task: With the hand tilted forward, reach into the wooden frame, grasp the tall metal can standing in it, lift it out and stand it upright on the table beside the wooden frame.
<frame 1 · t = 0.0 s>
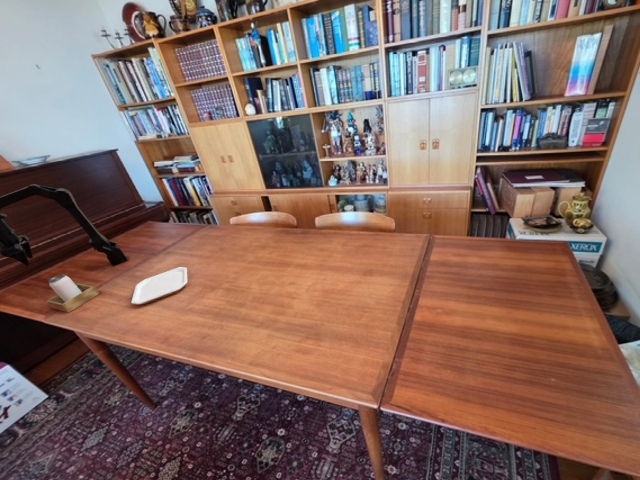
hand: (29, 261, 134), 15 cm above the table, tool pointing down, fingers open, 9 cm apart
can: (77, 301, 127), resting in wooden frame
plate: (163, 288, 124), on the table
wooden frame: (76, 300, 127), on the table
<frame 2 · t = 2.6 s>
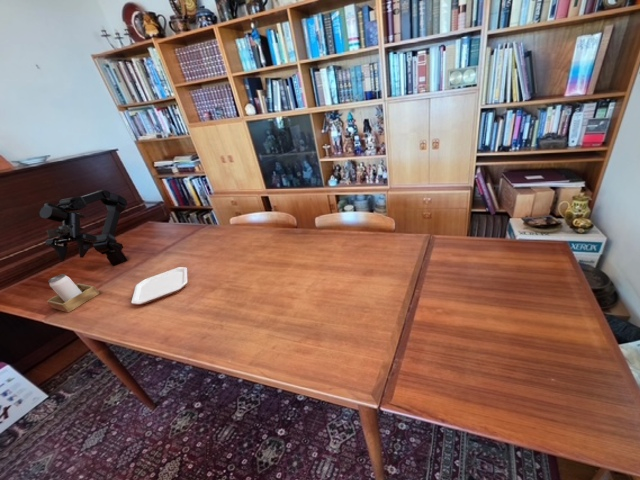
hand: (71, 259, 130), 14 cm above the table, tool tilted 40°, fingers open, 9 cm apart
nothing on the table moved.
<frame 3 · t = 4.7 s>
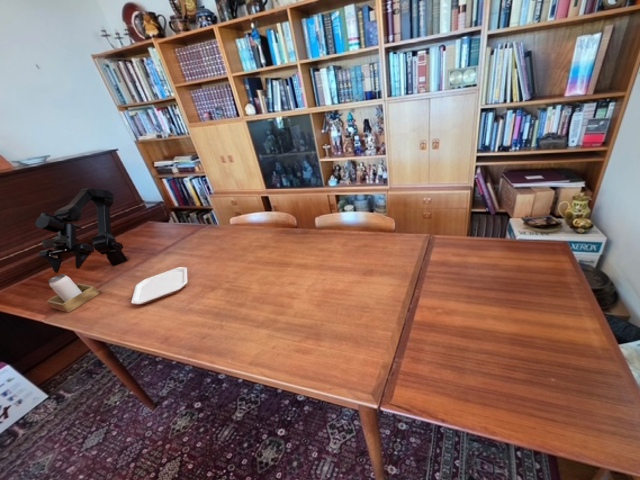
hand: (66, 270, 125), 12 cm above the table, tool tilted 45°, fingers open, 9 cm apart
nothing on the table moved.
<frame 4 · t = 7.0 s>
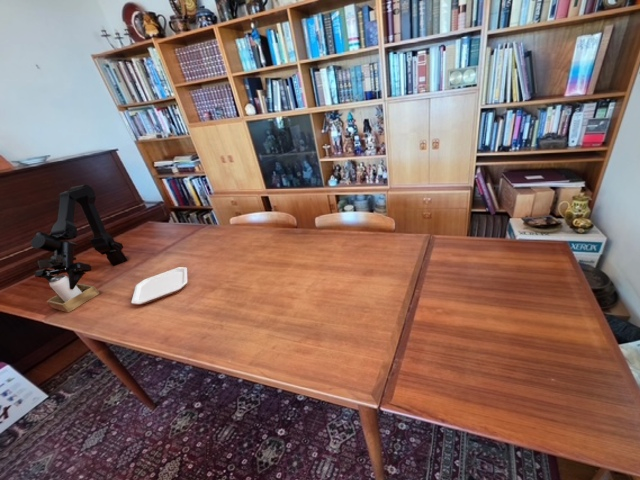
hand: (63, 290, 122), 7 cm above the table, tool tilted 45°, fingers closed on can, 6 cm apart
can: (77, 301, 127), resting in wooden frame, touching gripper
everything else where it was.
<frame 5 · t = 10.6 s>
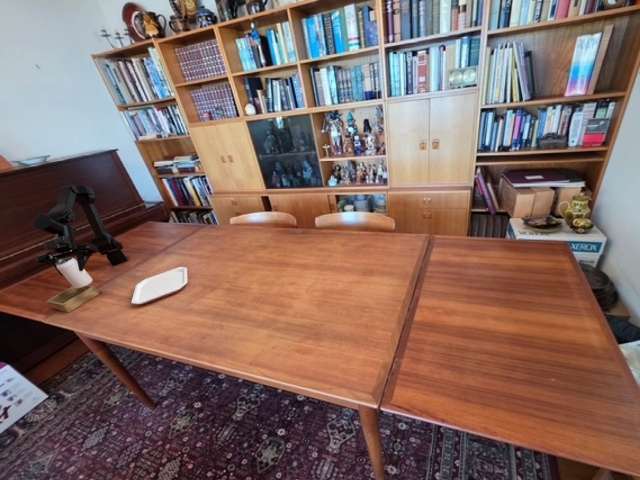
hand: (71, 273, 119), 13 cm above the table, tool tilted 45°, fingers closed on can, 6 cm apart
can: (84, 284, 124), point 6 cm above the table, touching gripper
everything else where it was.
when the fingers open (7 cm above the table, at t = 14.4 s): can stays where it is, on the table.
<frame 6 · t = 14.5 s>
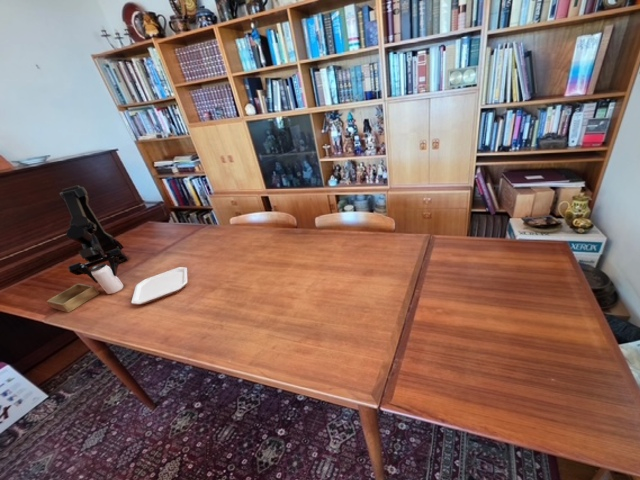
hand: (106, 279, 125), 7 cm above the table, tool tilted 45°, fingers open, 6 cm apart
can: (116, 290, 130), on the table
everything else where it was.
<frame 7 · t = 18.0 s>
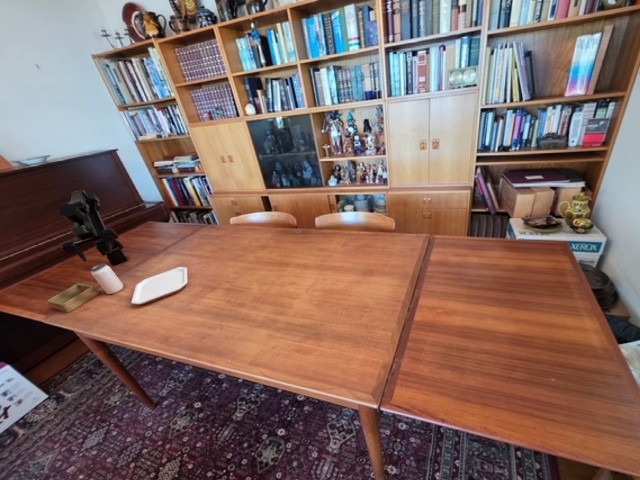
hand: (98, 257, 128), 14 cm above the table, tool tilted 45°, fingers open, 9 cm apart
nothing on the table moved.
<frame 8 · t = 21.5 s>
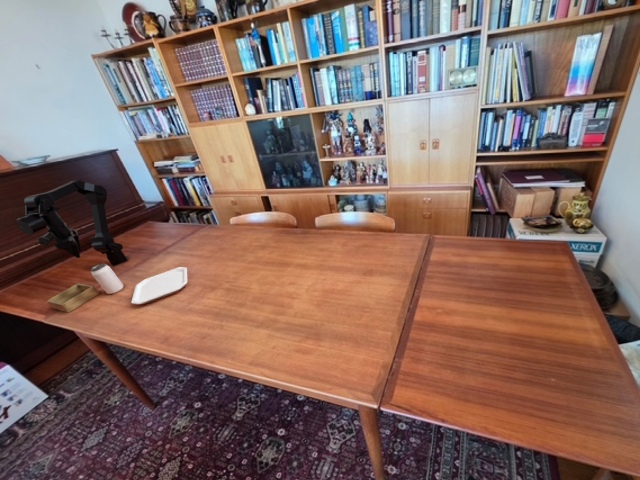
hand: (79, 254, 136), 13 cm above the table, tool pointing down, fingers open, 9 cm apart
nothing on the table moved.
at the end: can inside the target area (0.2 cm from its centre), on the table; can tilted 0°; can touching table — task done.
